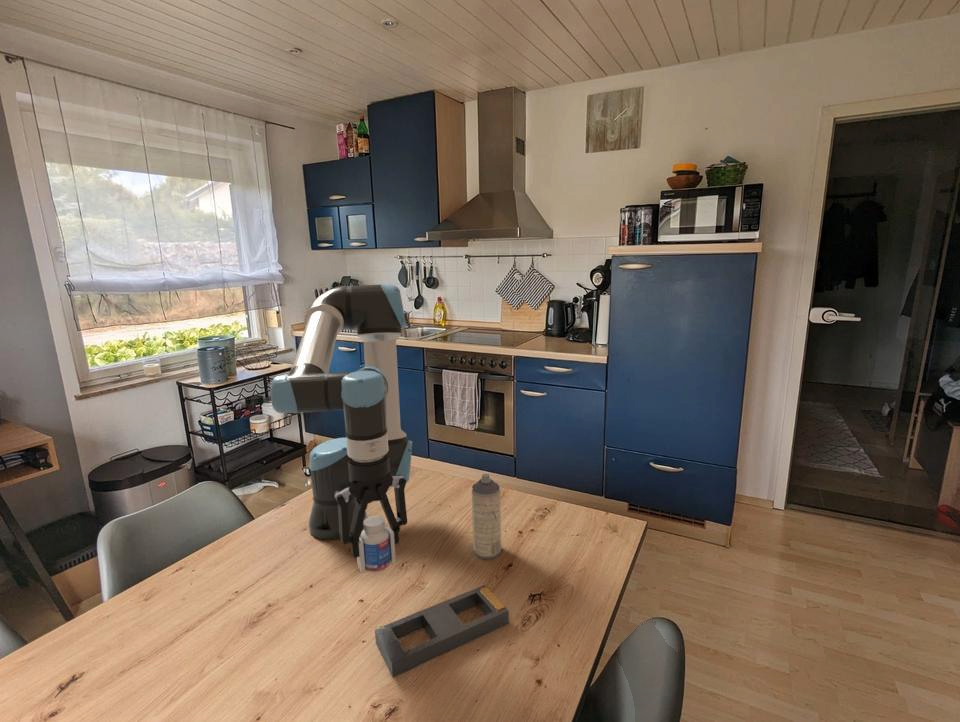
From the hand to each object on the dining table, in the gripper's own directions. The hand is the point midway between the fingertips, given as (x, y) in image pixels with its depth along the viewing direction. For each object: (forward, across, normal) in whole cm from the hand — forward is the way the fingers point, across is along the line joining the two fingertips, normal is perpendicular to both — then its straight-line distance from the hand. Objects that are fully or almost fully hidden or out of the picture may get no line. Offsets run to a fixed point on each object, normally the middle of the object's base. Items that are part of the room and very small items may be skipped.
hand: (376, 563), depth 96 cm
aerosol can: (+13, +30, +7) cm, 33 cm away
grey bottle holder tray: (+12, +9, -11) cm, 18 cm away
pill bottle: (+1, 0, 0) cm, 1 cm away
